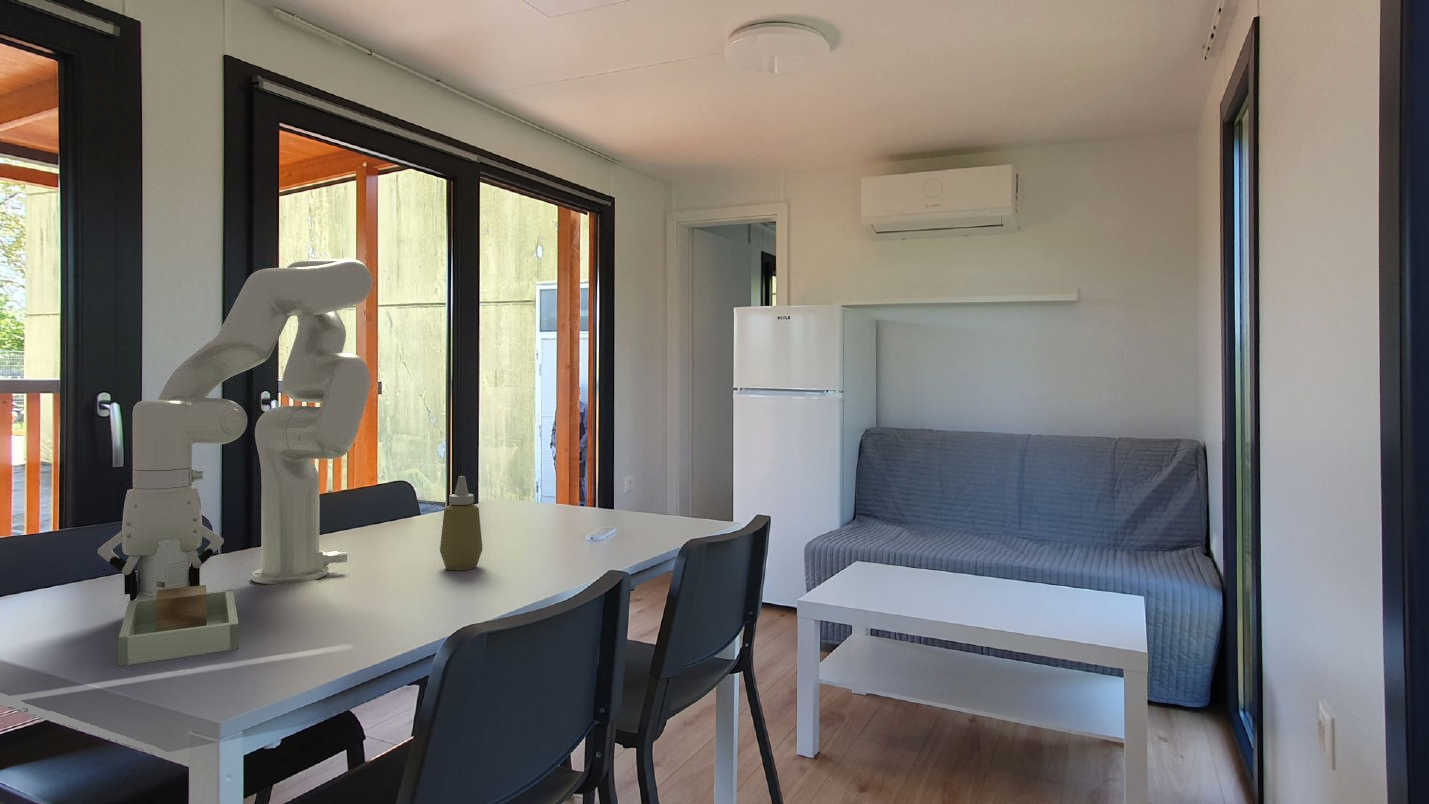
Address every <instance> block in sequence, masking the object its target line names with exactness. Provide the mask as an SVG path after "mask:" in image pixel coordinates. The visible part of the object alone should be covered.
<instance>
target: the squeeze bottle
mask: <svg viewBox="0 0 1429 804" xmlns="http://www.w3.org/2000/svg"><path fill="white" fill-rule="evenodd" d="M448 498H449V499H448V503H449V505H447V506H446V507H445V508H444V509H443V518H442V519H443V520H442V526H441V537H440V545H439V553H440V556H441V558H442V561H443V564H444V568H445V569H446V570H451V571H467V570H471V569H475V568H476V567H477V566H478V564H479V560H480V558H481V555H482V552H483V541H482V540H483V539H482V532H481V531H482V529H481V519H480V510H479V509H480V507H478V506H477V505H475V504H474V503H475V496H474V494H473V493H469V490H468V484H467V480H466V476H464V475H460V476H458V478H457V483H456V487H455V491H454V494H449V497H448Z"/></svg>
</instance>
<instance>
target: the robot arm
mask: <svg viewBox="0 0 1429 804" xmlns="http://www.w3.org/2000/svg"><path fill="white" fill-rule="evenodd" d="M372 289H373V276H372V274H371V270H370V269H369V268H368V266H366V264H364V263H363V262H361V261H359V260H357V259H353V258H329V259H323V258H322V259H320V258H319V259H304V260H298V261H295V262H292V263H291V264H289V265H288V266H287V267H274V268H273V267H271V268H270V267H269V268H263V269H262V268H261V269H258V270H257V271H254V272H253V273H252V274H250V275H249V276H248V278H247V279H246V281H245V282H244V284H243V286H242V288H241V290H240V291H239V292H238V293H239V294H238V295H237V298H236V299H235V301H234V303H233V305H232V308H231V309H230V310H229V313H228V315H227V317H226V319H225V320H224V322H223V323H222V326H221V327H220V330H219V331H218V333H217V335H216V336H215V337H213V339H211V340H210V341H208V342H207V343H205V344H204V345H203V346H202V347H200V348H199V349H198V350H196V352H194V353H193V354H192V355H191V356H190V357H188V358H187V359H186V360H184V361H183V362H182V363H181V364H180V365H179V366H178V367H177V368H176V369H175V370H174V371H173V373H172V374H171V375H170V376H169V378H168V380H167V381H166V383H165V385H164V387H163V389H162V390H161V392H160V394H159V396H158V398H157V399H147V400H141V401H138V402H136V404H135V405H133V409H132V489H131V488H130V489H127V491H126V494H125V499H124V504H123V512H122V525H121V528H122V529H121V530H120V531H119V532H118V533H117V534H115V535H114V536H113V537H112V538H110V539H109V540H107V541H106V542H105V543H104V544H103V545H102V546H100V547H99V548H98V550H97V554H98V555H99V556H100V557H101V558H103V559H104V560H105V561H106V562H108V563H109V564H110V565H111V566H112V567H113V568H115V569H116V570H118V571H119V572H121V574H123V577H124V581H123V582H124V583H123V584H124V588H123V589H124V596H126V595H127V596H128V595H129V601H133V600H136V597H137V571H136V565H137V563H138V560H139V558H140V556H153V555H155V554H156V553H157V548H158V542H159V541H163V540H179V543H180V549H181V552H185V553H186V552H188V553H187V557H188V559H189V560H190V566H189V587H191V586H201V585H200V584H201V583H200V581H201V580H200V579H201V576H200V575H201V571H200V569H201V567H202V565H203V564H205V563H206V562H207V561H208V560H209V559H210V558H211V557H212V556H213V555H214V553H216V551H217V550H219V548H220V547H221V546H222V545H223V544H224V542H225V540H224V538H223V537H222V536H220V535H219V534H217V533H215V532H214V531H212V530H211V529H209V528H208V527H206V526H205V525H203V517H202V506H201V505H202V503H201V498H200V492H199V488H198V486H195V485H193V483H194V482H195V481H196V482H197V481H198V480H199V481H200V480H204V478H203V477H204V475H203V474H204V473H203V472H204V471H202V470H201V471H200V470H199V471H198V470H195V469H193V460H192V459H193V445H195V444H201V445H226V444H228V443H232V442H234V441H235V440H237V439H239V438H240V437H241V436H242V435H243V434H244V433H245V431H246V430H247V427H248V416H247V413H246V411H245V409H244V408H243V407H242V406H241V405H240V404H238V403H237V402H235V401H233V400H230V399H227V398H221V397H217V398H216V397H209V395H210V394H212V392H213V391H214V390H215V389H216V388H217V387H218V386H219V385H221V384H222V383H223V382H224V381H226V380H228V379H230V378H231V377H233V376H234V377H235V376H236V375H238V374H242V373H243V372H245V371H248V370H251V369H252V368H255V367H257V366H259V365H261V364H263V363H265V362H266V361H267V360H269V359H270V357H271V355H272V353H273V351H274V349H275V347H276V345H277V342H278V340H279V338H280V337H281V334H282V332H283V330H284V329H285V326H286V325H287V322H288V320H289V319H290V318H291V317H293V316H294V317H296V318H297V330H296V331H297V332H296V335H295V338H294V340H293V345H292V347H291V350H290V353H289V356H288V358H287V362H286V365H285V368H284V369H283V370H284V371H283V375H282V379H281V389H282V391H283V393H284V394H285V396H286V397H288V398H289V399H290V400H292V401H297V402H300V403H314V404H315V403H316V404H321V405H320V406H309V405H308V406H307V405H282V406H281V405H280V406H276V407H272V408H270V409H267V410H266V411H265V412H263V413H262V414H261V416H259V418H258V420H257V421H256V424H255V429H254V437H255V438H254V439H255V445H256V448H257V449H256V450H257V454H258V458H259V463H260V473H261V474H260V475H261V505H260V506H261V510H260V512H261V514H260V515H261V518H260V519H261V525H260V527H261V535H260V536H261V558H260V559H261V568H258V569H256V570H254V571H253V572H251V580H252V581H253V582H254V583H257V584H258V583H259V584H264V585H280V584H290V583H300V582H309V581H315V580H317V579H321V578H324V577H325V576H327V575H328V574H329V570H330V568H329V564H339V563H340V564H341V563H347V562H348V554H347V552H346V551H344V552H338V551H331V552H325V551H323V549H322V548H321V546H320V492H321V484H320V483H321V482H320V477H319V472H318V471H317V467H316V465H315V464H314V460H336V459H340V458H342V457H344V456H346V454H347V453H348V452H349V451H350V450H351V449H352V446H353V445H354V443H355V440H356V437H357V434H358V431H359V428H360V424H361V421H362V419H363V415H364V411H365V410H366V409H365V408H366V405H367V401H368V398H369V394H370V390H371V372H370V369H369V367H368V365H367V363H366V362H365V360H364V359H362V358H361V357H360V356H358V355H356V354H353V353H348V352H344V347H345V343H346V340H347V339H346V337H347V331H346V330H347V329H346V326H345V324H344V322H343V320H342V318H341V316H340V315H339V313H338V311H339V310H343V309H347V308H350V307H353V306H357V305H359V304H361V303H363V302H364V301H365V300H366V299H368V297H369V296H370V294H371V293H372ZM203 538H204V539H206V540H208V541H209V542H210V543H209V545H208V546H207V547H206V548H205V549H204V550H202V552H200V553H198V551H197V550H198V549H200V548H201V546H202V541H203ZM120 544H121V550H122V553H123V554H124V555H125V556H127V559H126V560H125V559H123V558H122V557H120V556H119V555H118V554H116V553H115V552H114V551H113V550H114V549H115V548H116V547H118V546H119V545H120Z"/></svg>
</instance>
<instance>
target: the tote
mask: <svg viewBox="0 0 1429 804" xmlns="http://www.w3.org/2000/svg"><path fill="white" fill-rule="evenodd" d="M206 594H207V626H200V627H192V628H184V629H177V630H169V631H161V632H156V598H151V599H142V600H136V599H135V600H133V601H130V600H129V601H128V603H127V607H126V610H125V612H124V613H125V614H124V618H123V620H122V623H121V627H120V630H119V635H118V638H117V664H118V665H117V666H118V667H124V666H130V665H131V666H132V665H138V664H144V663H150V662H157V661H165V660H171V659H172V660H173V659H179V658H186V657H193V656H199V655H206V654H207V655H208V654H212V653H214V654H215V653H219V652H220V653H221V652H225V651H226V652H227V651H233V650H239V648H240V647H239V642H240V641H239V632H240V631H239V618H238V613H237V608H236V602H235V595H234V590H233V589H225V590H216V591H215V590H214V591H206Z"/></svg>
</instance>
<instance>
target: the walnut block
mask: <svg viewBox="0 0 1429 804" xmlns="http://www.w3.org/2000/svg"><path fill="white" fill-rule="evenodd" d="M206 592H207V585H206V584H202V585H200V586H191V587H182V588H172V589H163V590H158V591H157V596H156V632H161V631H169V630H177V629H184V628H192V627H200V626H207V594H206Z"/></svg>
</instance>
